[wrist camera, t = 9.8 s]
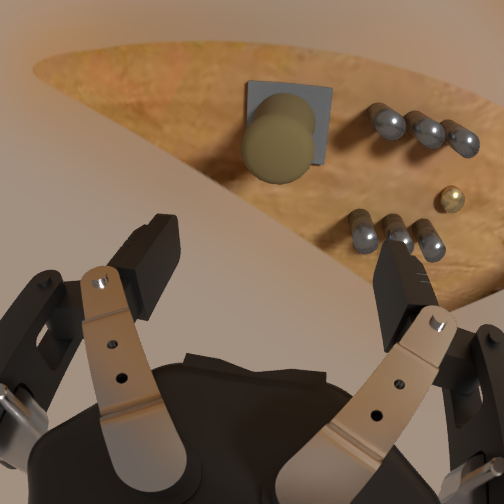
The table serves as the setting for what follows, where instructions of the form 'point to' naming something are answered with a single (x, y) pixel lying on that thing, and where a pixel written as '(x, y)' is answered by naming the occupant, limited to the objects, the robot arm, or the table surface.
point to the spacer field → (430, 137)
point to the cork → (280, 139)
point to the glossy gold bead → (452, 199)
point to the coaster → (311, 94)
